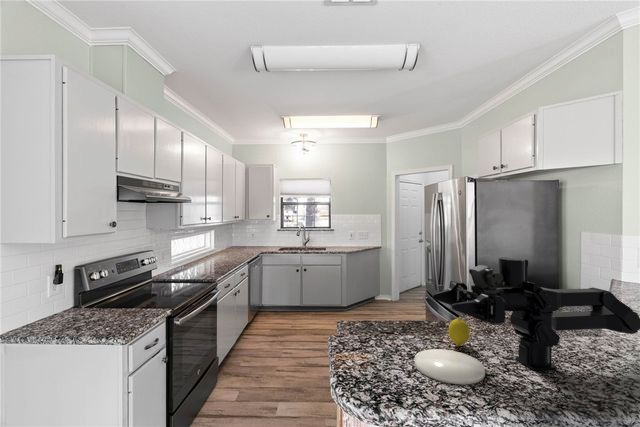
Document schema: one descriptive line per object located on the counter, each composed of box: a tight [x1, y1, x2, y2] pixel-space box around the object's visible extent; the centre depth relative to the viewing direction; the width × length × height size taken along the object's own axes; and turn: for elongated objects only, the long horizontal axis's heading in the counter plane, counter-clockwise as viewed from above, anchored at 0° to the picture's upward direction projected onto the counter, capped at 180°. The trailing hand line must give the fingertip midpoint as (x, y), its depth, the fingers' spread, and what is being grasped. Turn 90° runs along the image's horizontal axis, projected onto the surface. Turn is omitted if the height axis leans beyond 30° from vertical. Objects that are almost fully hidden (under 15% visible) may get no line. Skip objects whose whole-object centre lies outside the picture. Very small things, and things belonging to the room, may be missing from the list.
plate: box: [414, 348, 486, 385], centre depth 80 cm, size 16×16×1 cm
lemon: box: [448, 317, 471, 347], centre depth 94 cm, size 6×6×8 cm
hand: (441, 301), depth 79 cm, fingers open, 9 cm apart
